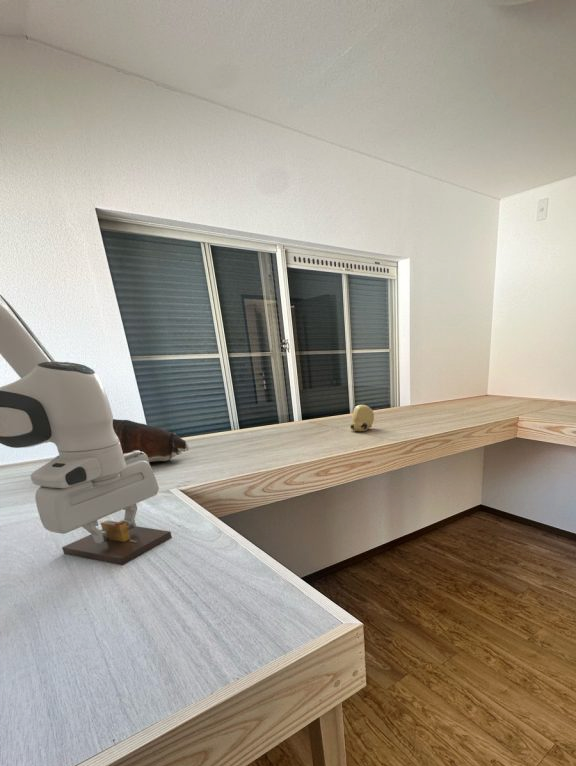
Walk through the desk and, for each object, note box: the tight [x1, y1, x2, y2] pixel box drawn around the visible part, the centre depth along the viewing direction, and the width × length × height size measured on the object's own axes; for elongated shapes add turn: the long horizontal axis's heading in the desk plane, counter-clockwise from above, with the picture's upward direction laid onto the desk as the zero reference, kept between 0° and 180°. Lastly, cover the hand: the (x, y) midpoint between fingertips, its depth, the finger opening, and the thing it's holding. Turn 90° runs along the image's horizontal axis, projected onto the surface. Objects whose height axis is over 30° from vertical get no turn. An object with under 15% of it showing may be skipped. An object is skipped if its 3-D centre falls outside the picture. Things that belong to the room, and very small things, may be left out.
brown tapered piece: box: [113, 418, 190, 463], centre depth 133 cm, size 15×15×25 cm
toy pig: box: [350, 404, 375, 433], centre depth 176 cm, size 10×12×11 cm
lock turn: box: [100, 519, 130, 542], centre depth 76 cm, size 5×1×3 cm, turn 71°
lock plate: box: [61, 525, 173, 566], centre depth 77 cm, size 14×11×3 cm
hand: (116, 534), depth 76 cm, fingers open, 4 cm apart
